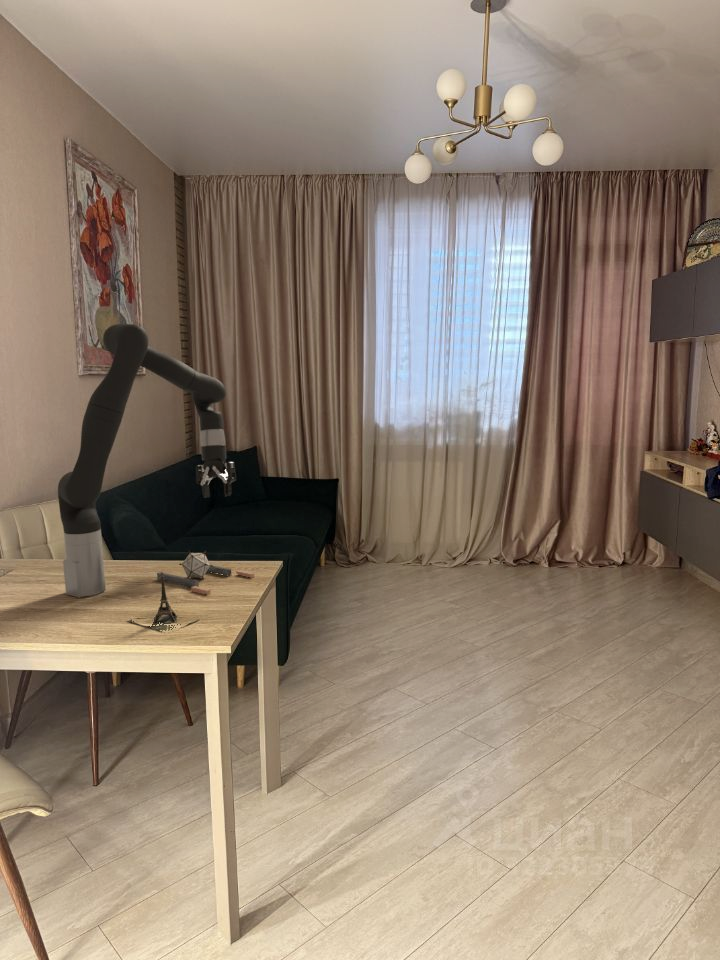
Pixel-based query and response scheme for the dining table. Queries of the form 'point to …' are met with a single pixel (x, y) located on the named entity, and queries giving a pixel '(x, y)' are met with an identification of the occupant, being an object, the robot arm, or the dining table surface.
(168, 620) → the eiffel tower figurine
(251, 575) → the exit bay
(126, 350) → the robot arm
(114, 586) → the dining table surface
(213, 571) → the chute
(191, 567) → the game die
